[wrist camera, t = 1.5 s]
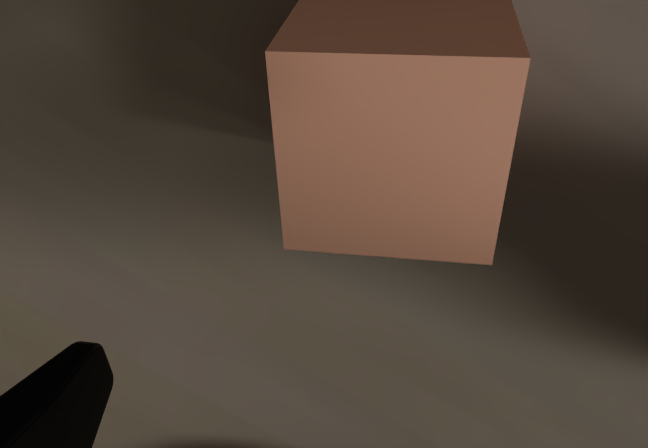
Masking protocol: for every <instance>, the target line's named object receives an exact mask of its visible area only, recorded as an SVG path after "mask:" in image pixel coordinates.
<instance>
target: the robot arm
mask: <svg viewBox="0 0 648 448" xmlns="http://www.w3.org/2000/svg"><path fill="white" fill-rule="evenodd" d="M112 386H113V373H112V370H111V367H110V365H109V362H108V359H107V357H106V354H105V351H104V349H103V347H102V346H101V345H100V344H98V343H92V342H83V341H79V342H75V343H73V344H71V345H70V346H68V347H67V348H66V349H64V350H63V351H62V352H60V353H59V354H57V355H56V356H55V357H53V358H52V359H51V360H49V361H48V362H46V363H45V364H44V365H42V366H41V367H40V368H38V369H37V370H35V371H34V372H33V373H31V374H30V375H29V376H27V377H26V378H24V379H23V380H22V381H20V382H19V383H18V384H16V385H15V386H14V387H12V388H11V389H9V390H8V391H7V392H5V393H4V394H3V395H1V396H0V448H92V446H93V443H94V440H95V437H96V434H97V431H98V428H99V425H100V422H101V419H102V416H103V413H104V411H105V408H106V405H107V402H108V399H109V396H110V393H111V390H112Z"/></svg>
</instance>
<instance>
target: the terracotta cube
mask: <svg viewBox="0 0 648 448" xmlns="http://www.w3.org/2000/svg"><path fill="white" fill-rule="evenodd" d="M265 57H266V68H267V78H268V88H269V99H270V109H271V120H272V130H273V141H274V151H275V161H276V172H277V182H278V193H279V203H280V214H281V224H282V234H283V245H284V249H287V250H300V251H313V252H326V253H339V254H352V255H365V256H378V257H392V258H405V259H418V260H431V261H444V262H457V263H470V264H483V265H492V263H493V257H494V252H495V247H496V241H497V236H498V230H499V225H500V220H501V214H502V209H503V204H504V198H505V193H506V187H507V182H508V177H509V171H510V166H511V160H512V155H513V150H514V144H515V139H516V134H517V128H518V123H519V117H520V112H521V107H522V101H523V96H524V90H525V85H526V80H527V74H528V69H529V63H530V55H529V52H528V49H527V46H526V43H525V40H524V37H523V34H522V31H521V28H520V25H519V22H518V19H517V16H516V13H515V10H514V7H513V4H512V1H511V0H298V2H297V3H296V5H295V6H294V8H293V10H292V11H291V13H290V14H289V16H288V17H287V19H286V20H285V22H284V23H283V25H282V26H281V28H280V29H279V31H278V32H277V34H276V35H275V37H274V38H273V40H272V41H271V43H270V44H269V46H268V47H267V49H266V50H265Z"/></svg>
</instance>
